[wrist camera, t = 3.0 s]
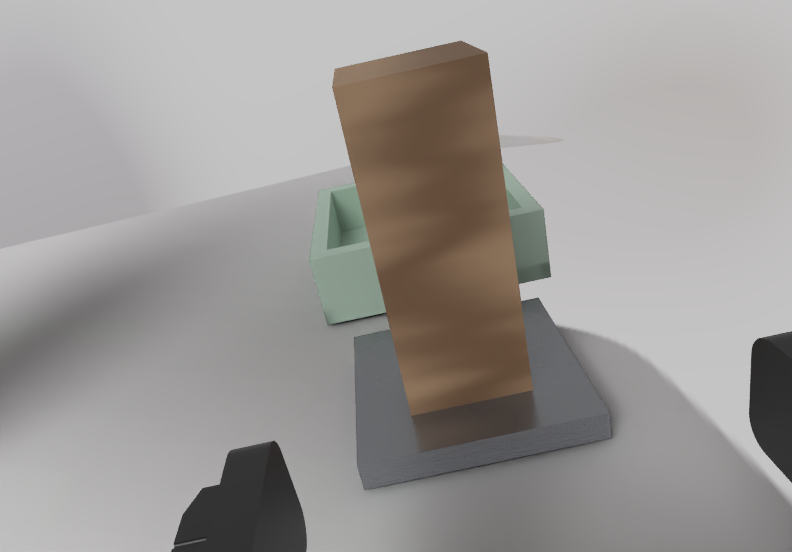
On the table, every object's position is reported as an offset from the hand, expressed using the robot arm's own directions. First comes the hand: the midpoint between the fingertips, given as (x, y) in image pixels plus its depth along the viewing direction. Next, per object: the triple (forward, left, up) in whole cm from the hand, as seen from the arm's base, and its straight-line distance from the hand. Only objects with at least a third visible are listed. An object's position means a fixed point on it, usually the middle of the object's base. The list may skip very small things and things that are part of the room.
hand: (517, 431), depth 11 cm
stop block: (0, +11, -6) cm, 13 cm away
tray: (0, +24, -7) cm, 25 cm away
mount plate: (0, +11, -7) cm, 13 cm away
